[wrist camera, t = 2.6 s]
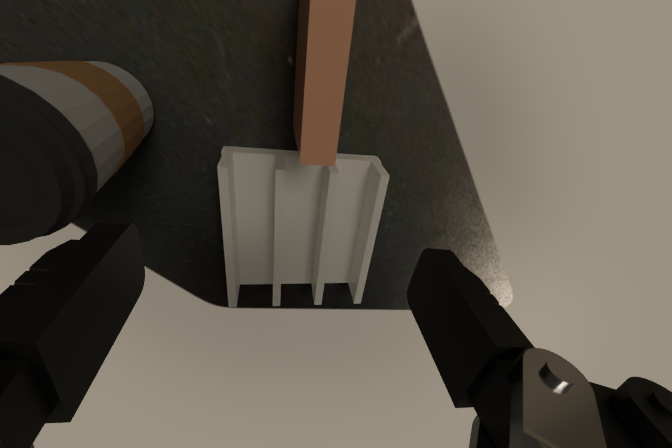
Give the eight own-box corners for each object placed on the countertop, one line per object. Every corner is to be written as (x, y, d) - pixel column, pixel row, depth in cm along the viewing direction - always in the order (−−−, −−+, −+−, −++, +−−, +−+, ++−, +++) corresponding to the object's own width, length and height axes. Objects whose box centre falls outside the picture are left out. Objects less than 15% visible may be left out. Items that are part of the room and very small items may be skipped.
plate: (300, -25, 23) (313, -52, 15) (331, -19, 24) (361, -42, 15) (292, 124, 29) (299, 164, 21) (318, 126, 29) (334, 166, 21)
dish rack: (223, 145, 29) (214, 166, 25) (376, 156, 32) (391, 175, 28) (232, 275, 37) (226, 307, 33) (353, 274, 40) (362, 303, 36)
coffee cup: (101, 163, 28) (-40, 274, 16) (25, 65, 24) (-258, 111, 11) (187, 135, 28) (114, 224, 16) (129, 30, 23) (-41, 37, 11)
